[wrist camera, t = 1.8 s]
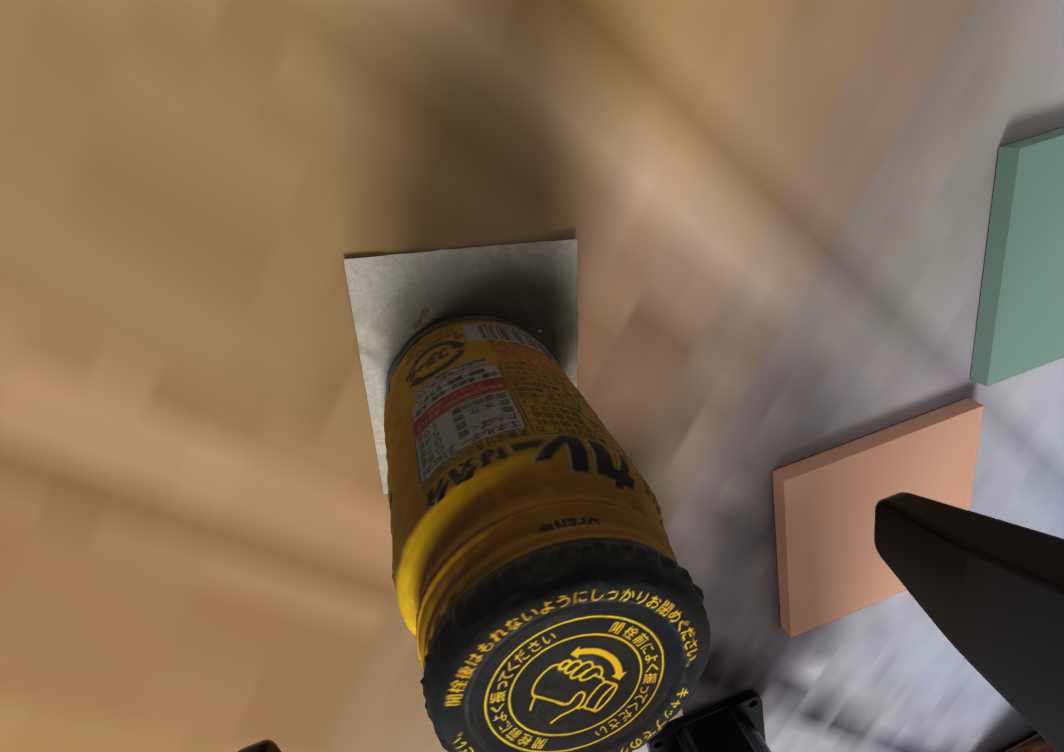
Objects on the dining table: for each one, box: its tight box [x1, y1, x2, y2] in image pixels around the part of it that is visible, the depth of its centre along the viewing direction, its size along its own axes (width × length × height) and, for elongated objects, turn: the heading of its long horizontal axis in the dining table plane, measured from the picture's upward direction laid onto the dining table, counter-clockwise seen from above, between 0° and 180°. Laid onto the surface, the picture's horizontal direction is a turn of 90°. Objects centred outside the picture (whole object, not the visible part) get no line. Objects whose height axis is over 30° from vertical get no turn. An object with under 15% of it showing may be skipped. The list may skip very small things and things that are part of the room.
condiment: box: [344, 239, 710, 752], centre depth 15 cm, size 7×8×12 cm
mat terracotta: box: [772, 398, 984, 638], centre depth 28 cm, size 10×10×1 cm
